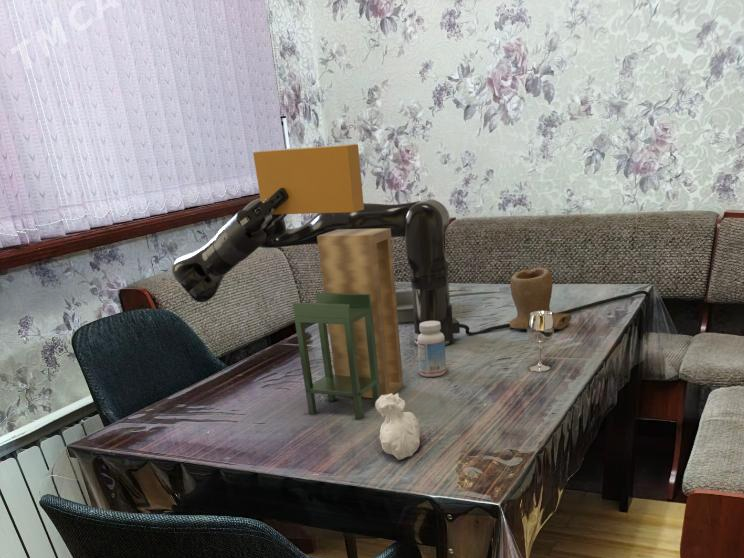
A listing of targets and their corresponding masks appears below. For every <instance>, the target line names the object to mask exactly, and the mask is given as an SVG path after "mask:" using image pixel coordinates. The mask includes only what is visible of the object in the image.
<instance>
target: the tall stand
mask: <svg viewBox="0 0 744 558" xmlns="http://www.w3.org/2000/svg"><path fill="white" fill-rule="evenodd" d="M317 241H318V244H317V246H318V254H319V255H318V257H319V263H320V271H321V279H322V287H323V293H348V294H370V297H371V307H372V313H373V324H374V334H375V344H376V354H377V365H378V375H379V385H380V395H388V394H391V393H392V394H393V395H395V394H397V393H398V392H399V391H401V389H403V388H404V378H403V365H402V355H401V342H400V341H401V340H400V328H399V323H398V315H397V303H396V292H397V291H396V279H395V267H394V265H395V264H394V255H393V243H392V237H391V228H385V229H338V230H334V231H331V232H328V233H325V234H322V235H319V236H317ZM327 325H328V332H329V342H330V348H331V349H330V350H331V357H332V365H333V370H334V372H333V373H334V375H340V376H350V369H349V361H348V352H347V344H346V335H345V327H344V324H327ZM353 330H354V339H355V348H356V357H357V366H358V375H359V377H366V378H371V374H370V365H369V355H368V345H367V336H366V326H365V317H363V318H361V319H359V320H357V321H355V322H354V323H353ZM361 398H367V399H373V394H372V388H370V389H369V390H367V391H366V392H364V393H363V394H362V395H361Z"/></svg>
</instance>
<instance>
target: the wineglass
mask: <svg viewBox="0 0 744 558" xmlns="http://www.w3.org/2000/svg"><path fill="white" fill-rule="evenodd" d="M550 311H551V310H550ZM550 311H535V312H531V313H530V315H529V319H528V324H527V329H526V334H527V338H528V339H529V340H530V341H531V342H533V343H535V344H537V351H538V362H537V364H535V365H531V366H529V370H530V371H533V372H546V371H548V370H550V369H551V367H550V366H549V365H546V364H543V363H542V351H543V345H542V344H545V343H547V342H549V341H550V340H551V339H552V338H553V336H554V333H555V329H554V321H553V316H552V313H553V312H552V311H551V312H550Z"/></svg>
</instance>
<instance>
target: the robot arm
mask: <svg viewBox="0 0 744 558" xmlns="http://www.w3.org/2000/svg"><path fill="white" fill-rule="evenodd" d="M288 198H289V196H288V194H287V192H286V190H285V189H284V188H280V189H279V190H278V191H277V192H275V193H274V194H273V195H272V196H271V197H270V199H269V198H266V199H265V200H264V202H263V203H262V201H261V200H260V197H259V198H256V199H254V200H252V201H250V202H249V203H248V204H247V205H245V207H244V208H243V209H240V210H239V211H238V212H237V213H235V214H234V215H233V216H232V217H231V218H230V219H229V220H228V221H227V222H226V223H225V224H224V225H222V227H221V228H220V229H219V230H218V231H217V233H216V234H215V235H214V236H213V237H212V238H210V240H209V241H208V242H206V243H205V244H204V245H203V246H201V247H200V248H198V249H196V250H194V251H191V252H188V253H185V254H183V255H181V256H179V257H178V258H176V259H175V260H174V262H173V263H172V267H171V273H172V276H173V277H174V279H175V280H176V281H177V282H178V283H179V284H180V285H181V287H182V288H183V289H184V290H185V291H186V293H187V294H188V295H189V296H190V297H191V299H192V300H193V301H195V302H197V303H207V302H209V301H210V300H211V299H213V297H215V295H216V294H217V292H218V290H219V288H220V286H221V284H222V282H223V279H224V278H225V277H226V276H227V275H228V274H229V273H230V272H231V271H232V270H234V268H236V267H237V266H238V265H239V264H240V263H241V262H243V261H244V260H246V259H247V258H248V257H250V256H251V255H252V254H253V253H254V252H255V251H256V250H257V249H259V248H260V249H276V248H277V249H279V248H286V247H287V248H288V247H296V246H304V245H305V246H307V245H318V241H317V236H319V235H322V234H325V233H328V232H331V231H334V230H338V229H385V228H391V238H404V240H405V250H406V259H407V263H408V266H409V270H410V283H411V284H410V285H411V290H412V300H413V314H414V322H413V328H414V333H413V338H414V345H415V346H416V347H418V344H417V338H418V336H419V335H420V334H421V332H420V330H419V329H420V328H419V324H420V323H422V322H425V321H439V322H440V324H441V328H440V332H441V333H443V335H444V339H445V346H448V345H452V344H454V335H455V334H460V333H461V329H465V331H464V332H465V334H466V335H467V336H475V335H479V334H480V335H481V334H486V333H489V332H492V331H497V330H502V329H507V328H511V327H510V325H509V323H504V324H498V325H493V326H489V327H487V328H484V329H481V330H478V331H470V327H469V326H468V325H467V324H463V323H460V321H459V320H458V319H457V318H456V317H453V305H452V304H451V301H450V300H451V299H450V280H449V279H450V276H449V260H448V258H447V256H446V253H445V242H444V239H445V238H444V235H445V234H446V232H447V230H448V229H449V226H450V221H451V216H450V213H449V210H448V209H447V207H446V206H445V205H444V204H443V203H442V202H441V201H439V200H436V199H431V198H427V199H423V200H417V201H413V202H405V203H396V204H385V203H370V202H363V204H364V210H360V211H357V212H349V213H315V215H313V217H311V218H310V220H308V221H306V222H305V223H303V224H302V225H300V226H298V227H293V228H288V227H287V224H286V220H285V217H287V215H288V214H272V213H273V212H275V210H276V209H275V208H278V207H279V206H280V205H282V204H283V203H284V202H285V201H286V200H287V199H288ZM638 295H644V296H646V297H651V293H650V292H649V291H647V290H641V289H640V290H637V291H633V292H631V293H627V294H621V295H618V296H613V297H610V298H606V299H601V300H597V301H594V302H590V303H587V304H584V305H580V306H576V307H573V308H569V309H565V310H561V311H557V313H559V314H571V313H575V312H578V311H581V310H585V309H588V308H593V307H596V306H600V305H604V304H606V303H611V302H614V301H619V300H623V299H628V298H632V297H635V296H638ZM460 328H461V329H460Z"/></svg>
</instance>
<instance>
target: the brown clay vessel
mask: <svg viewBox="0 0 744 558" xmlns="http://www.w3.org/2000/svg"><path fill="white" fill-rule="evenodd" d="M509 287H510V293H511V298H512V300H513V302H514V306H515V308H516V317H514V318H513V319H511V320H510V321H509V322H508V324H509V325H510V327H509V328H511V329H515V330H527V324H528V319H529V315H530V313H531V312H535V311H550V312H552V310H551V306H550V305H551V299H552V293H553V276H552V273H551V271H549V269H548V268H545V267H534V268H532V269H523V270H520V271H517V272H516V273H514V274H513V275H511V278H510V281H509ZM552 316H553V321H554V330H563V329H564V328H565V327H566V326H567V325H568V324H569V323H570V321H571V320H572V314H571V313H568V314H559V313H558V312H552Z"/></svg>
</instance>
